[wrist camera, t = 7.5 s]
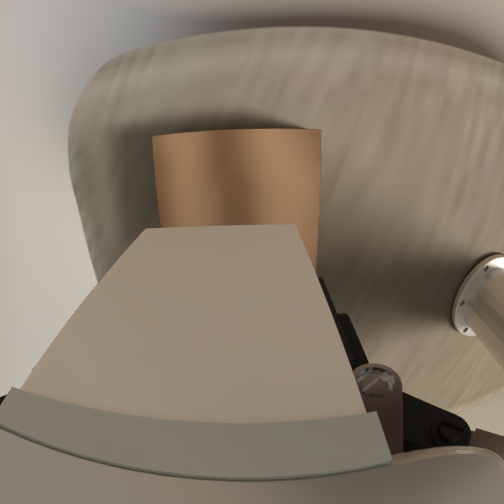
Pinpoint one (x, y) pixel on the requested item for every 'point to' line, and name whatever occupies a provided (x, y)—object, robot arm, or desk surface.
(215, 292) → the white rectangular block
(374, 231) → the desk surface
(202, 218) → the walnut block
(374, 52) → the desk surface
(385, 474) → the robot arm
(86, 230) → the desk surface
